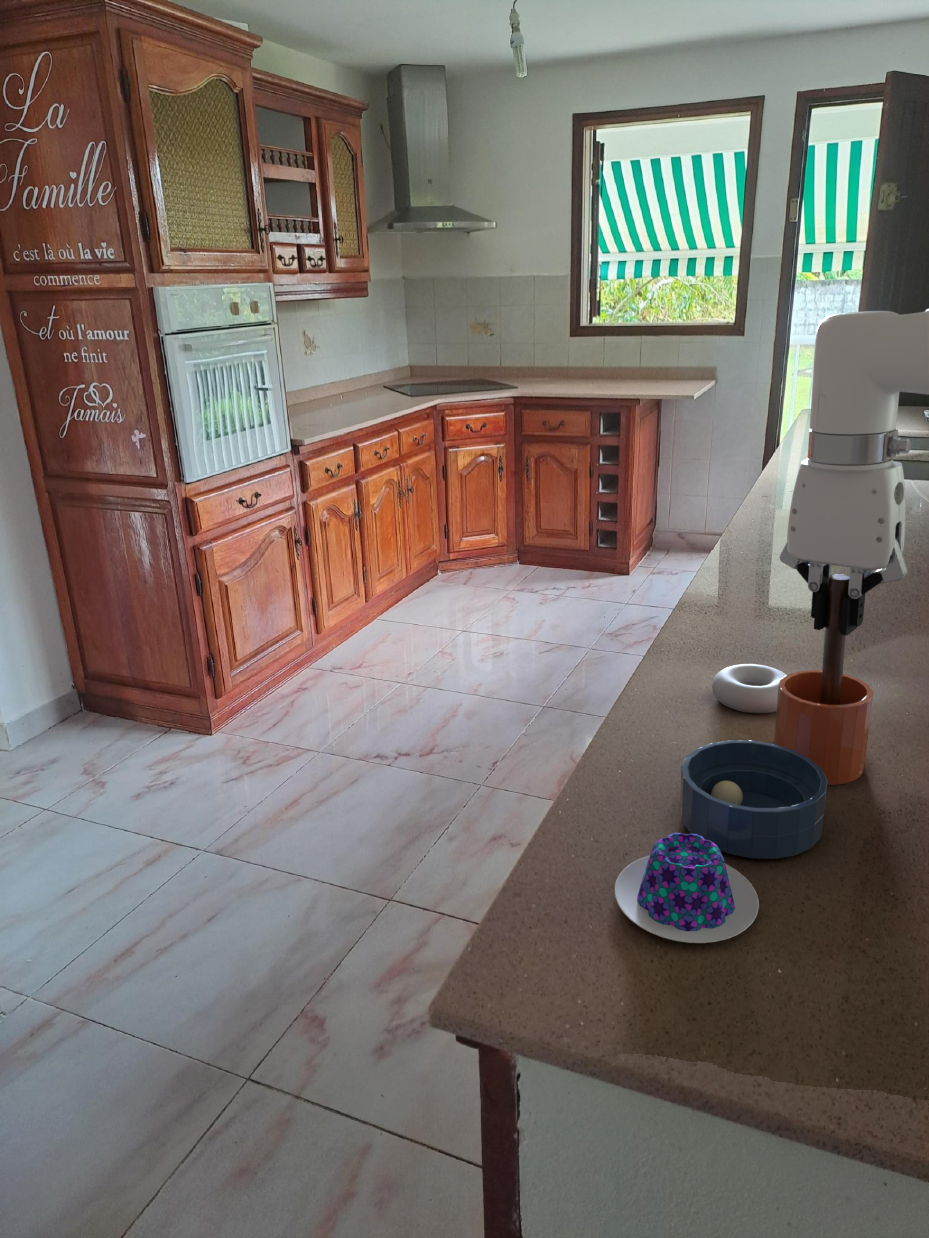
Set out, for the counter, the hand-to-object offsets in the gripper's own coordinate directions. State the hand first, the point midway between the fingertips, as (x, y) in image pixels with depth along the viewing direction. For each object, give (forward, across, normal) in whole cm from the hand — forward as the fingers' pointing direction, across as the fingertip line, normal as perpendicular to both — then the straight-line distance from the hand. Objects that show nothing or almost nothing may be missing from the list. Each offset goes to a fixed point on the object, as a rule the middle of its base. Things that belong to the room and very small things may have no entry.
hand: (835, 627), depth 90 cm
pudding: (+16, 0, +30) cm, 34 cm away
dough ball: (+14, +4, +15) cm, 21 cm away
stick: (+13, 0, 0) cm, 13 cm away
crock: (+16, +1, 0) cm, 16 cm away
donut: (+16, +13, -10) cm, 23 cm away
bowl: (+16, +1, +15) cm, 22 cm away
